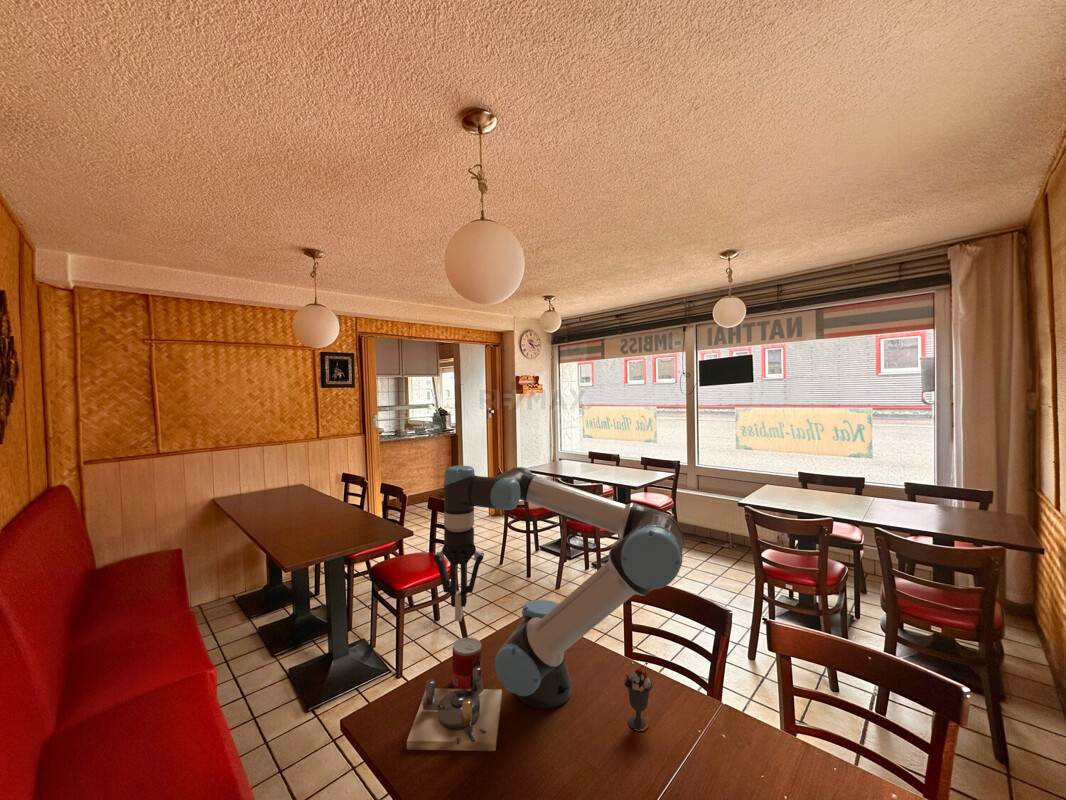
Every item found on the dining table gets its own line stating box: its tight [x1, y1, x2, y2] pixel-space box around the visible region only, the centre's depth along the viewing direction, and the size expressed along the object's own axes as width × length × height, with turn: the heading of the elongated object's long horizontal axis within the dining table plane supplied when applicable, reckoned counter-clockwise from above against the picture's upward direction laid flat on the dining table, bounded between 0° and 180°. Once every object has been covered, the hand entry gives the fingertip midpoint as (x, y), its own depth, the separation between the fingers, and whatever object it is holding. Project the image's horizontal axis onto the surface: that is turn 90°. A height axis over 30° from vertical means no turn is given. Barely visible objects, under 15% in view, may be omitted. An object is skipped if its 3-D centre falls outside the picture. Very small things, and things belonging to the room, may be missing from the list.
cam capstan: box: [423, 665, 484, 734], centre depth 106 cm, size 13×16×7 cm
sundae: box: [624, 662, 654, 731], centre depth 107 cm, size 7×7×15 cm
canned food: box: [452, 637, 483, 689], centre depth 121 cm, size 8×8×11 cm
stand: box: [406, 688, 503, 752], centre depth 108 cm, size 20×18×4 cm
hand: (458, 618), depth 113 cm, fingers closed
